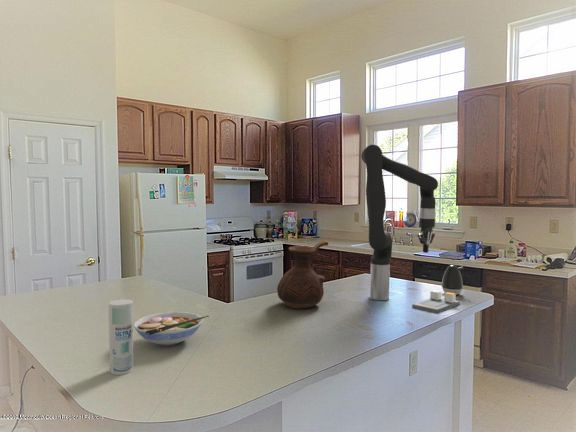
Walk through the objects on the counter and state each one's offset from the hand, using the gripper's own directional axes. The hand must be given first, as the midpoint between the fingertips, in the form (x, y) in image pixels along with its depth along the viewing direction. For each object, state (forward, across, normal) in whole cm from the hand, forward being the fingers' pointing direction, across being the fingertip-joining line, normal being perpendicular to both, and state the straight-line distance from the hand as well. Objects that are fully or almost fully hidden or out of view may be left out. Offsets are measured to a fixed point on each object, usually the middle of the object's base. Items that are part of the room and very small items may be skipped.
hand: (425, 252), depth 210 cm
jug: (+24, -57, +29) cm, 68 cm away
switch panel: (+22, -10, -12) cm, 27 cm away
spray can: (+24, -145, +12) cm, 148 cm away
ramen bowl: (+24, -124, +24) cm, 129 cm away
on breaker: (+21, -4, -9) cm, 23 cm away
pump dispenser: (+23, +18, -6) cm, 29 cm away
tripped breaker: (+21, -4, -16) cm, 26 cm away
